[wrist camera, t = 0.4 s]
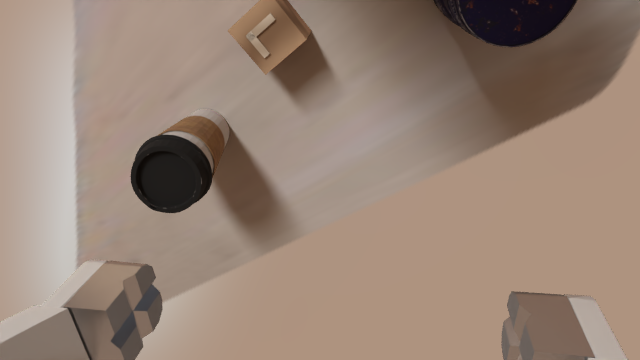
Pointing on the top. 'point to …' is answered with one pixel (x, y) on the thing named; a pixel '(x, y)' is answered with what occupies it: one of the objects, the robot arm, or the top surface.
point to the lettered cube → (270, 32)
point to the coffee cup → (180, 162)
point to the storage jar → (507, 18)
